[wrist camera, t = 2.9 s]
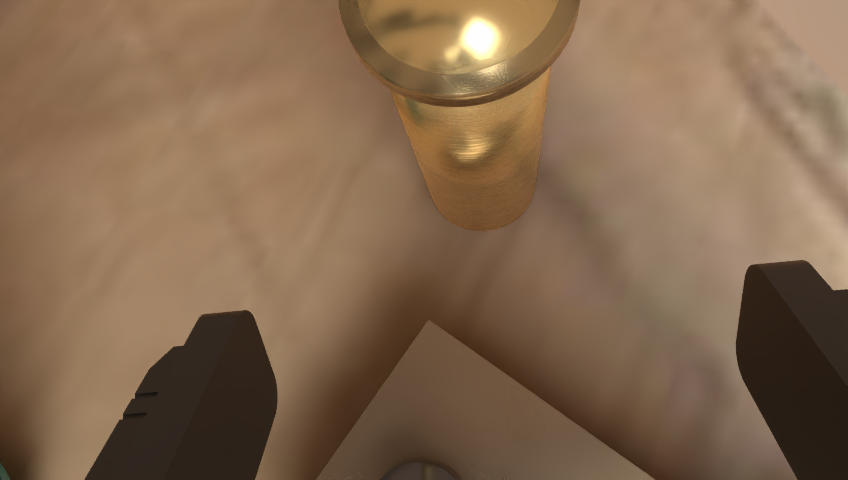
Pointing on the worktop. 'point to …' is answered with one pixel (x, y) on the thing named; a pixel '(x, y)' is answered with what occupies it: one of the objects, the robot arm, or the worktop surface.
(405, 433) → the metal socket block
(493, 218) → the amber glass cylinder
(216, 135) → the worktop surface
